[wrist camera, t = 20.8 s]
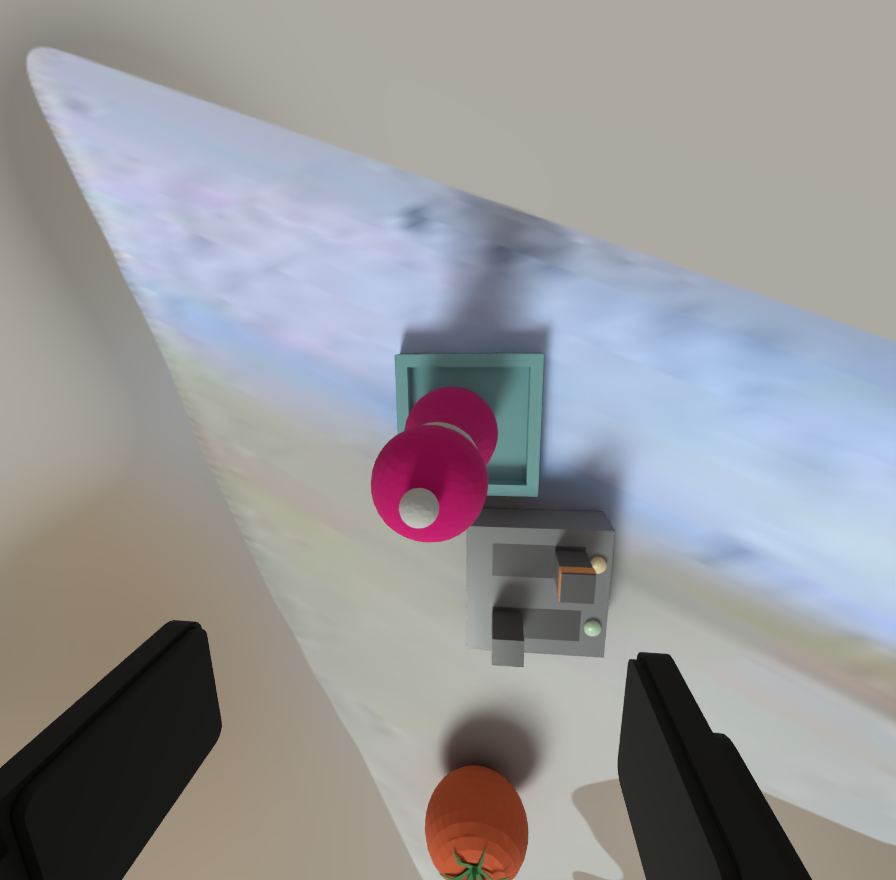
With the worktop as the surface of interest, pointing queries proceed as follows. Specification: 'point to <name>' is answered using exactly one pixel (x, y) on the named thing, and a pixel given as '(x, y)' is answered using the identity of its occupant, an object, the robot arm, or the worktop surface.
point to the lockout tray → (505, 391)
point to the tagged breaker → (574, 577)
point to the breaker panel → (537, 578)
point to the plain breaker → (507, 639)
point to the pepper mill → (436, 466)
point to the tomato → (476, 826)
